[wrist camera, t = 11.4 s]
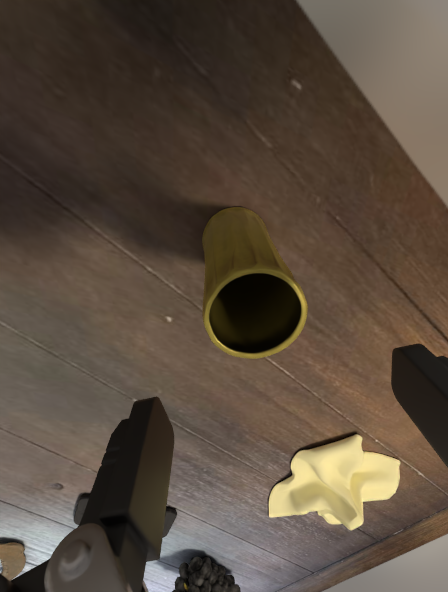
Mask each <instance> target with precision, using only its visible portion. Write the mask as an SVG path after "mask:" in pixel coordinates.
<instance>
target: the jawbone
mask: <svg viewBox="0 0 448 592" xmlns="http://www.w3.org/2000/svg"><path fill="white" fill-rule="evenodd" d="M24 550H25V548H24V546H23V545H22V544H18V543H12V542H11V543H7V544H0V559H1V563H2V567H3V571H2V572H1V573H0V574H1V575H3V576H4V577H6V578H7V579H8V580H9V581H11V580H12V579H13V578H15V577H16V576H17V575H18V574H19V573H20V572H21V571H22V570H23V568H24V566H25V562H26V559H25V556H24V554H23V552H24Z"/></svg>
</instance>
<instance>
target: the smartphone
mask: <svg viewBox="0 0 448 592" xmlns="http://www.w3.org/2000/svg"><path fill="white" fill-rule="evenodd" d="M89 497H90V495H83V496H81V497H80V499H79V501H78V505H77V509H76V512H75V516H74V522H75V523H76V524H77V525H79V524H80V522H81V519H82V516H83V514H84V511H85V508H86V505H87V502H88V499H89ZM176 516H177V512H176V511H175V510H174V509H169V508H166V512H165V520H164V528H163V536H162V537H165V536H166V535H167V534H168V532H169V530H170V528H171V526H172V524H173V522H174V520H175V518H176Z"/></svg>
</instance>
